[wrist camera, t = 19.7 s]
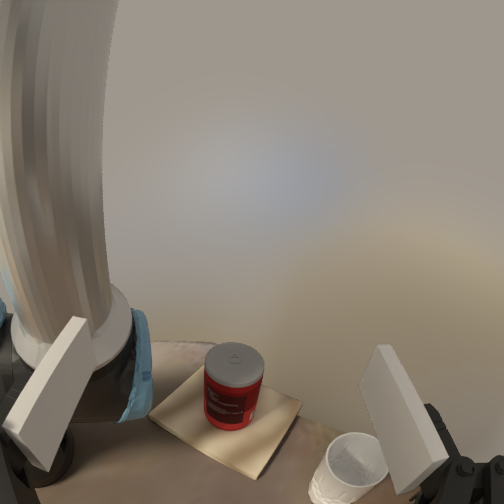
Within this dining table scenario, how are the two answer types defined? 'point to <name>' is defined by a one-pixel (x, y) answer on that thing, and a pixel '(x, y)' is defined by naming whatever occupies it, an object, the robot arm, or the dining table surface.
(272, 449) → the cutting board
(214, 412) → the canned food
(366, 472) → the white cup
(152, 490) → the dining table surface
